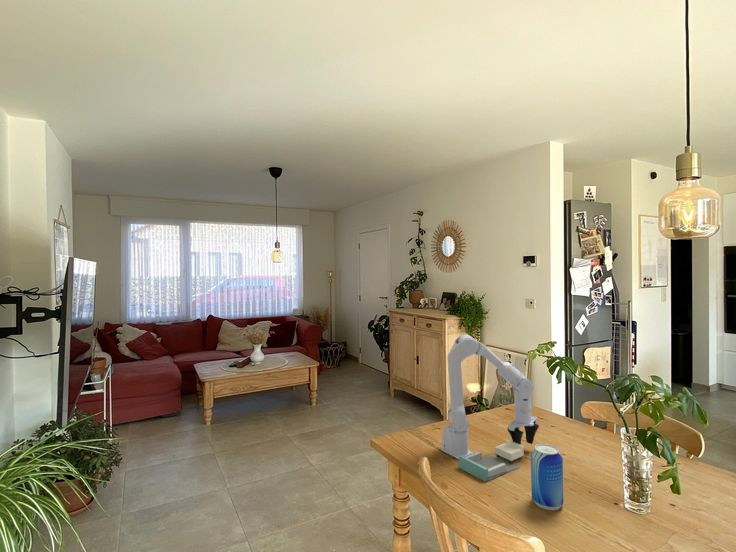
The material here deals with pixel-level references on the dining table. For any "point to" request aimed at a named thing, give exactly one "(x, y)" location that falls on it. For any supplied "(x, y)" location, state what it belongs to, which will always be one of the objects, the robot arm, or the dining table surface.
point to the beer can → (547, 477)
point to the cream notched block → (510, 451)
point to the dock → (485, 466)
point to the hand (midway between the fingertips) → (523, 445)
